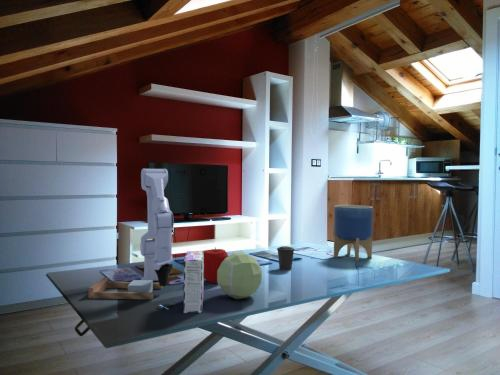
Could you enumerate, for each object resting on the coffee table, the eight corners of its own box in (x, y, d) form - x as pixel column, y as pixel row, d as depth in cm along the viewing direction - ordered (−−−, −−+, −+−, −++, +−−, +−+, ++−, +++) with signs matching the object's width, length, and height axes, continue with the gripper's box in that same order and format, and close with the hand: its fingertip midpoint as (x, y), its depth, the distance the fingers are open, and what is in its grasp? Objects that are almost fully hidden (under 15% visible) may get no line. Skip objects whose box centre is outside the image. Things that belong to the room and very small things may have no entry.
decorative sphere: (226, 306, 127) (227, 259, 127) (211, 293, 141) (212, 251, 141) (268, 301, 133) (269, 256, 133) (250, 288, 147) (251, 248, 146)
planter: (377, 261, 195) (378, 208, 195) (337, 261, 196) (338, 207, 195) (366, 253, 215) (367, 205, 214) (330, 253, 215) (331, 204, 214)
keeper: (152, 291, 144) (152, 280, 144) (148, 297, 137) (148, 285, 137) (133, 291, 144) (133, 280, 144) (127, 297, 137) (127, 285, 137)
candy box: (186, 299, 134) (186, 250, 134) (203, 298, 135) (204, 250, 134) (182, 313, 121) (183, 259, 120) (202, 313, 121) (202, 259, 120)
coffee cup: (273, 270, 176) (274, 247, 176) (279, 266, 184) (279, 244, 183) (291, 272, 173) (291, 249, 173) (296, 268, 181) (296, 246, 180)
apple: (216, 276, 164) (216, 243, 163) (233, 281, 157) (233, 247, 156) (195, 281, 156) (195, 247, 156) (212, 286, 149) (212, 250, 149)
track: (162, 288, 147) (162, 278, 147) (152, 299, 133) (152, 289, 133) (104, 286, 148) (104, 277, 147) (88, 298, 134) (88, 287, 134)
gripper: (159, 243, 147) (159, 279, 148) (144, 250, 133) (144, 290, 133) (178, 243, 146) (178, 280, 147) (164, 251, 132) (164, 291, 132)
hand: (163, 285), depth 140 cm, fingers closed
